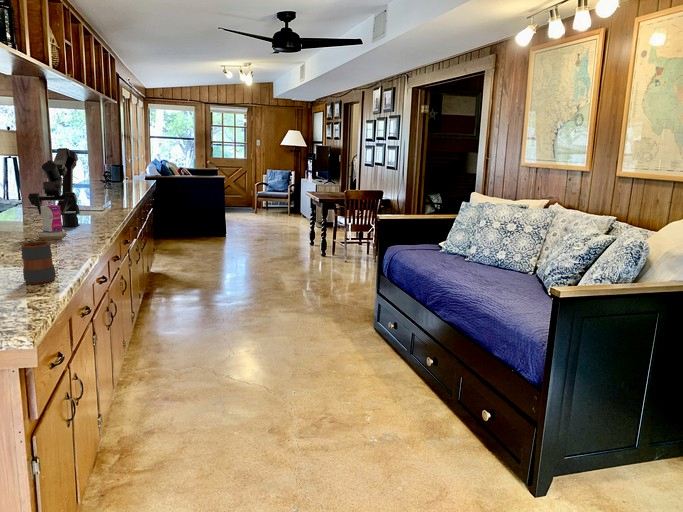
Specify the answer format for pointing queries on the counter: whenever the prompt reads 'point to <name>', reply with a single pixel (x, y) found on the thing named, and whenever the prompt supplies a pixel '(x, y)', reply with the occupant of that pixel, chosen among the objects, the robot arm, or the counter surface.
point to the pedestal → (52, 235)
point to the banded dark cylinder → (37, 263)
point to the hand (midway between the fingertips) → (51, 213)
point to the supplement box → (51, 218)
